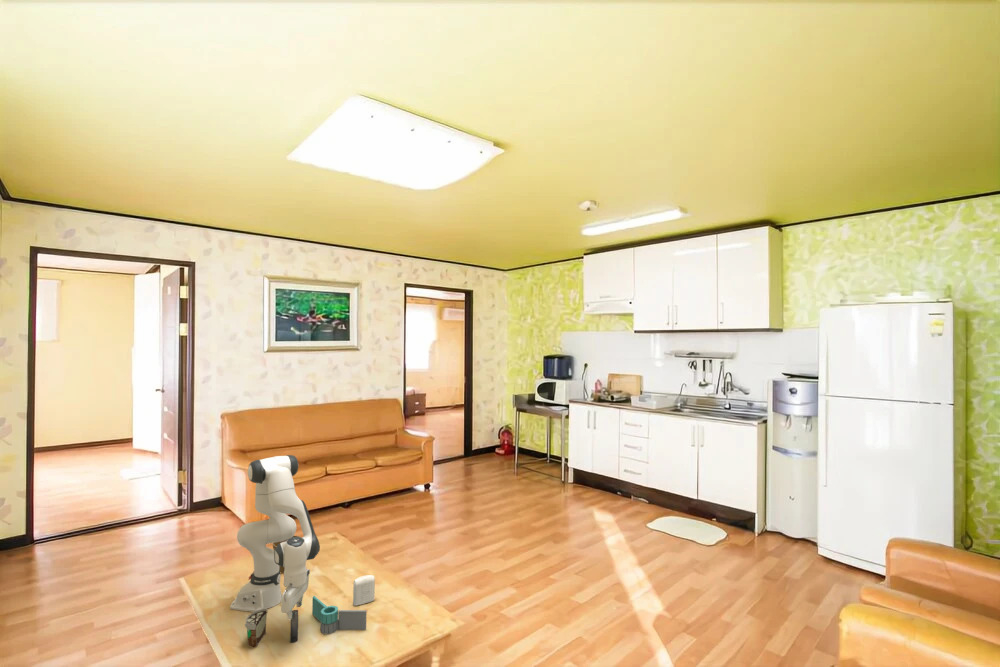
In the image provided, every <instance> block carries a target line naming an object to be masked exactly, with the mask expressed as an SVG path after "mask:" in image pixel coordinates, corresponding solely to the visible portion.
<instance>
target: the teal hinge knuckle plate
mask: <svg viewBox="0 0 1000 667" xmlns="http://www.w3.org/2000/svg"><path fill="white" fill-rule="evenodd" d="M311 601H312V603H311V604H312V606H311V610H312V615H313V616H314V617H315V618H316V619H317V620H318V621H319V622H320V623H321V622H322V623H323V624H331V623H334V622H336V621H337V620H338V611H339V607H338V606H337V605H326V604H325V603H324V602H323V601H321V600H320V599H319V598H318V597H316V596H315V595H313V596H312V600H311Z"/></svg>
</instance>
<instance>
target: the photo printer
mask: <svg viewBox="0 0 1000 667" xmlns="http://www.w3.org/2000/svg"><path fill="white" fill-rule="evenodd" d="M375 580H376V579H375V575H373V574H367V575H361V576H359V577H357V578H355V579H354V581H353V591H352V593H353V596H352V597H353V598H352V605H353V606H354V607H356V606H360V605H364V604H367V603H372V602H373V601H375V584H376V581H375Z"/></svg>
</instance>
